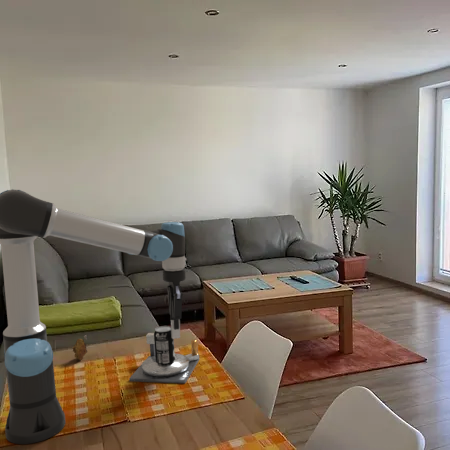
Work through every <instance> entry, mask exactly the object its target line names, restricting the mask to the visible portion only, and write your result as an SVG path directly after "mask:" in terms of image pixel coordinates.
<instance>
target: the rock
mask: <svg viewBox="0 0 450 450" xmlns="http://www.w3.org/2000/svg"><path fill="white" fill-rule="evenodd" d="M83 338H84V339H83ZM83 338H77V340H76V342H75V344H74V346H73V347H72V350H73V351H72V352H73V353H74V358H75V359H77V360H79V361H82V360H83V359H84V356H86V354H87V353H88V350H87V343H86V342H85V340H86V341H87V340H89V339H88V335H87V334H86V335H83Z"/></svg>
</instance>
